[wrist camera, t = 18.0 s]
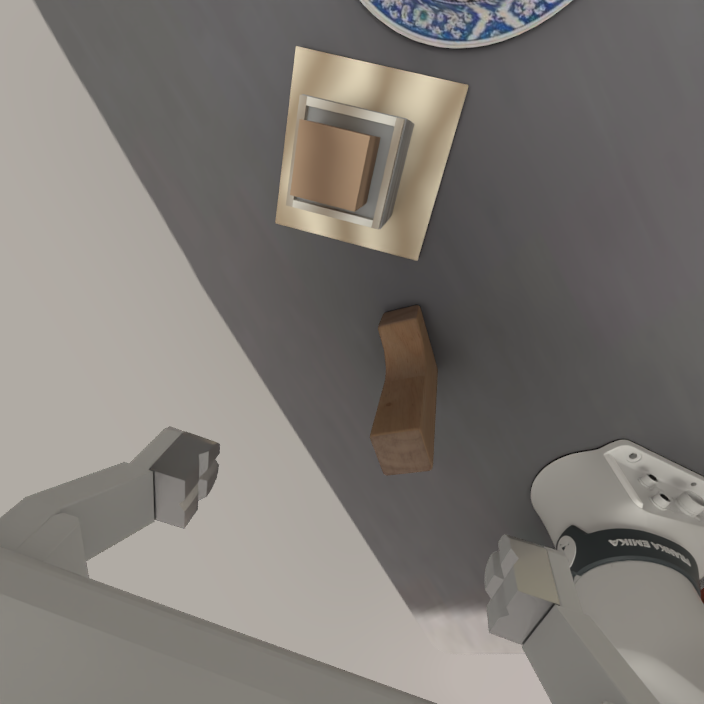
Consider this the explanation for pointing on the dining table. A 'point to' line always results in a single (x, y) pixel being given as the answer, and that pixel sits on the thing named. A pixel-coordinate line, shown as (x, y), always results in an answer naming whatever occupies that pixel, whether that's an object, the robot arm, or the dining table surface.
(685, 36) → the dining table surface
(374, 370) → the dining table surface
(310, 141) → the walnut cube
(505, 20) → the ceramic plate
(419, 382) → the wooden block
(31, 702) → the robot arm
